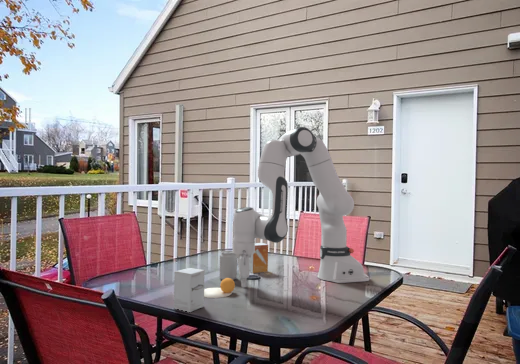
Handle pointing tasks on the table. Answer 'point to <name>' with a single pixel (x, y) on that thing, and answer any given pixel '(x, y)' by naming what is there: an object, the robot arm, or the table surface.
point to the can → (228, 265)
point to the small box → (259, 259)
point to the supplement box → (189, 289)
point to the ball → (227, 285)
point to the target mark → (215, 293)
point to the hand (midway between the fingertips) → (243, 283)
